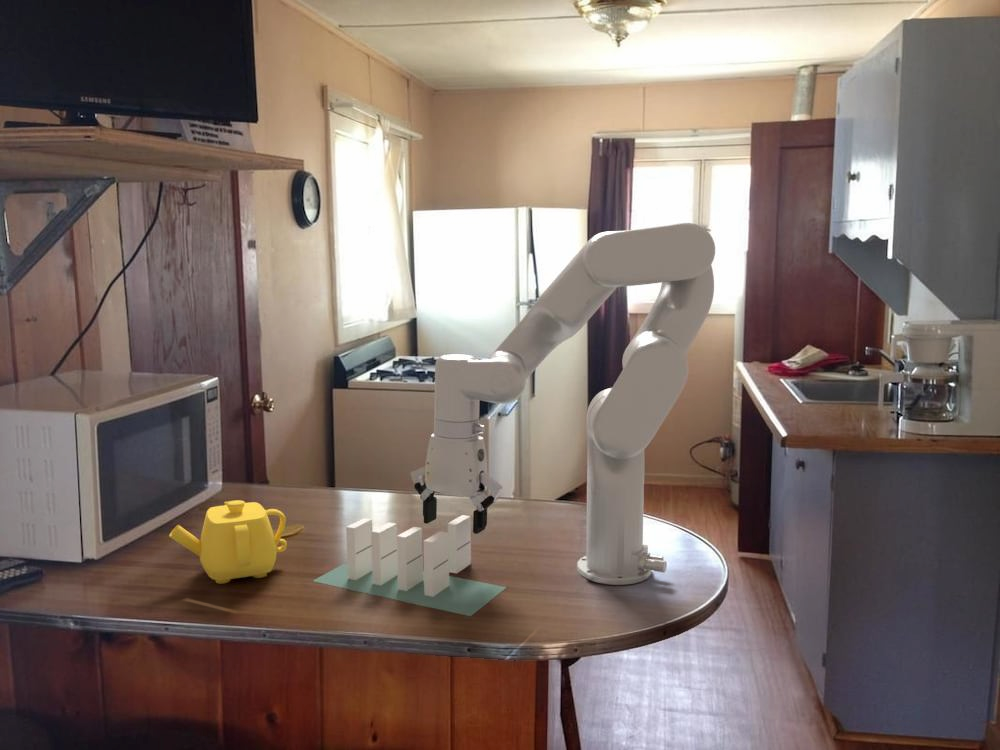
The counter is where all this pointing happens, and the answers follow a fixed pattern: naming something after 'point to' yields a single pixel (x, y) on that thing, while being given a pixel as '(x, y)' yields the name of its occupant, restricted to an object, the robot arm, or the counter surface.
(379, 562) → the domino
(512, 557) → the counter surface
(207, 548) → the teapot
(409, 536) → the domino
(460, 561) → the domino
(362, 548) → the domino
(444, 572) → the domino
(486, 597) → the runner mat
